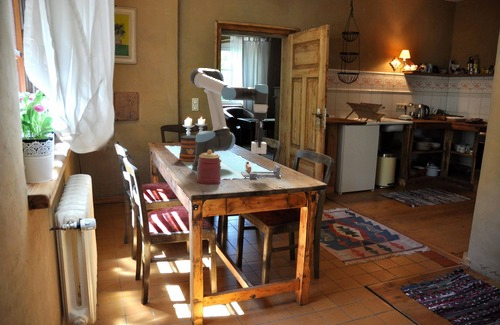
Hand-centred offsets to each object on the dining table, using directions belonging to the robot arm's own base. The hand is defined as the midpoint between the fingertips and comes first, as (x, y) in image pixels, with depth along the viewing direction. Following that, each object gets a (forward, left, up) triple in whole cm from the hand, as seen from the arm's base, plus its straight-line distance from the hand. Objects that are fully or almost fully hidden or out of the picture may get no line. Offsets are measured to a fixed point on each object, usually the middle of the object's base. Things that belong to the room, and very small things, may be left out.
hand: (258, 152), depth 223 cm
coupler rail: (+3, +4, -15) cm, 16 cm away
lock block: (0, 0, -1) cm, 1 cm away
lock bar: (-3, +15, -14) cm, 21 cm away
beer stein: (-37, +50, -15) cm, 64 cm away
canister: (-29, -13, -15) cm, 35 cm away
